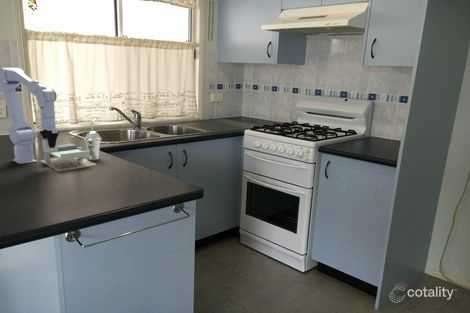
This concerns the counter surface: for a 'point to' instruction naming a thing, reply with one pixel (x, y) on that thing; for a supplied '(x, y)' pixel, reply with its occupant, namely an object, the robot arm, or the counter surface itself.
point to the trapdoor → (69, 152)
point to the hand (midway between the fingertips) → (50, 146)
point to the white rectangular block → (46, 146)
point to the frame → (66, 162)
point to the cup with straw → (93, 143)
